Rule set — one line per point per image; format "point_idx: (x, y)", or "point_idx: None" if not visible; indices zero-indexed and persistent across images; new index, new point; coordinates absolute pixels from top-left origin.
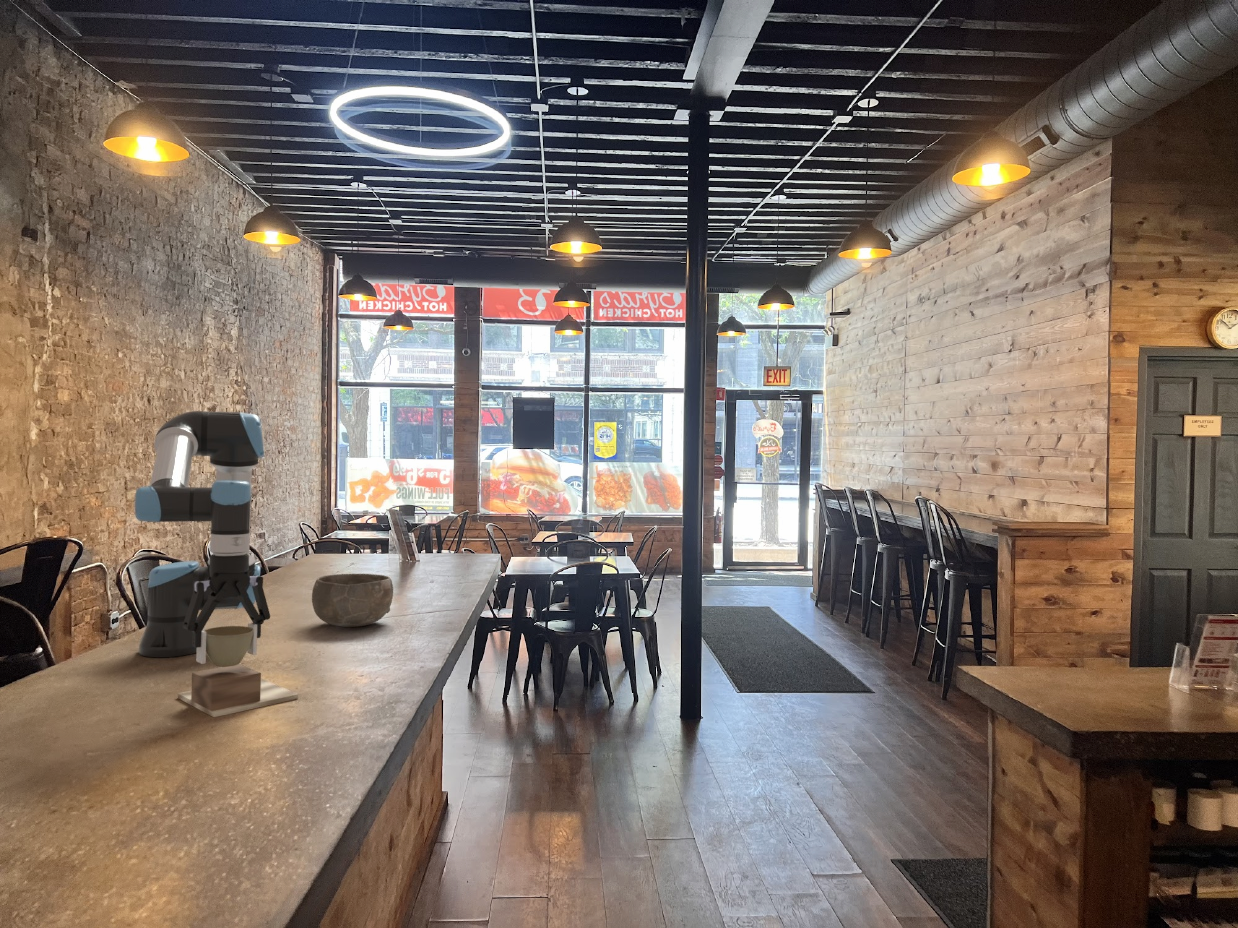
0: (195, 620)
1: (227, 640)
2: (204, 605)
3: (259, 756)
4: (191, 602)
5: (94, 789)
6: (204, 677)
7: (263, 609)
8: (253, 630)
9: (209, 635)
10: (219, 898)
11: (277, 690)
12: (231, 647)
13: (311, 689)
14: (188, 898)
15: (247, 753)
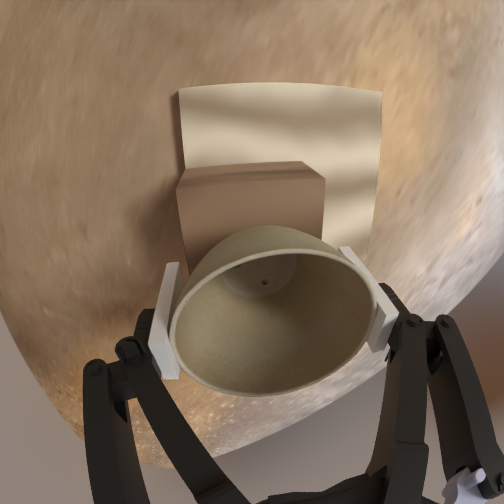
0: (129, 422)
1: (240, 381)
2: (170, 458)
3: (207, 400)
4: (98, 479)
5: (73, 382)
6: (190, 262)
7: (430, 383)
8: (349, 360)
9: (189, 375)
10: (151, 461)
11: (357, 214)
12: (252, 359)
13: (406, 218)
14: (140, 458)
15: (199, 392)
